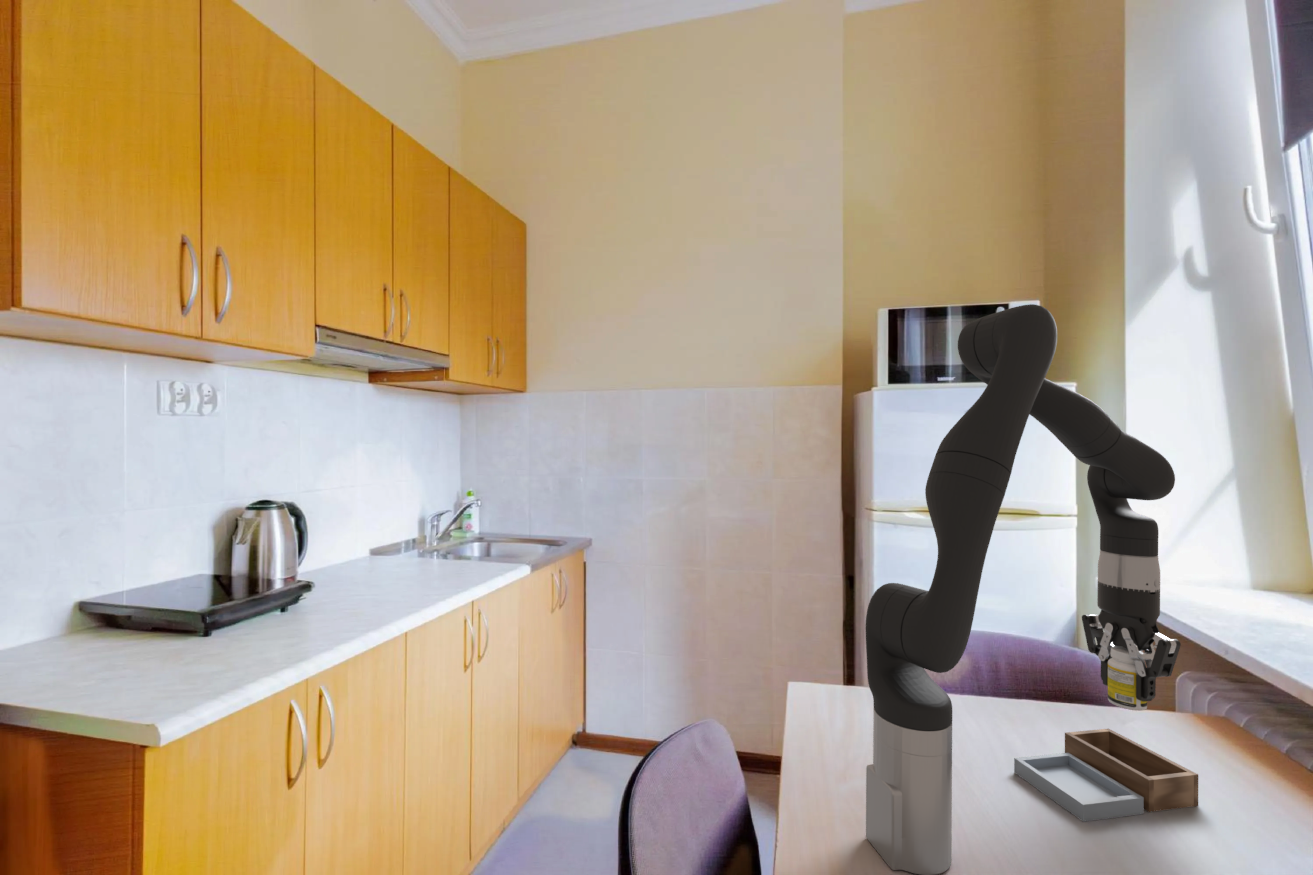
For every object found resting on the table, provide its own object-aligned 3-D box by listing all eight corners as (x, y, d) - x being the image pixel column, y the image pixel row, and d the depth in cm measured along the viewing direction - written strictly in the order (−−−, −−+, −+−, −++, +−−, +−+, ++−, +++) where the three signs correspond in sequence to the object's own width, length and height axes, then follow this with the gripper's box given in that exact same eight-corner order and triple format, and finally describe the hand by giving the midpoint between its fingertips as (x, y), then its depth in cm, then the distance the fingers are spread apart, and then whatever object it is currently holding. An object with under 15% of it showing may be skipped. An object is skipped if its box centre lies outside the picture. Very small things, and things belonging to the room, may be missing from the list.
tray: (1083, 821, 79) (1083, 804, 79) (1014, 772, 91) (1014, 757, 91) (1143, 813, 81) (1143, 797, 81) (1068, 766, 93) (1068, 752, 93)
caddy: (1149, 811, 82) (1149, 780, 82) (1064, 759, 95) (1064, 732, 95) (1198, 805, 83) (1198, 774, 83) (1108, 755, 97) (1108, 728, 97)
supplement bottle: (1132, 699, 91) (1133, 645, 91) (1155, 712, 87) (1155, 656, 87) (1100, 696, 92) (1100, 643, 92) (1120, 710, 87) (1121, 654, 87)
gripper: (1066, 572, 96) (1065, 675, 95) (1155, 594, 82) (1154, 715, 81) (1104, 571, 97) (1103, 673, 97) (1198, 593, 83) (1197, 712, 83)
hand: (1127, 692), depth 89 cm, fingers closed on supplement bottle, 4 cm apart
